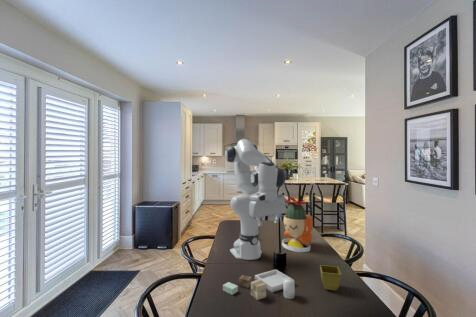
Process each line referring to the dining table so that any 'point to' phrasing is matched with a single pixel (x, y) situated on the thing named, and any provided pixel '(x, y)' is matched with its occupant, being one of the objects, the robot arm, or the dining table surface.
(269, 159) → the robot arm
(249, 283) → the walnut block
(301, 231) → the potted cactus
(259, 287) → the oak block
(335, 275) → the flower pot
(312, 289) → the dining table surface
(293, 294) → the white capsule shape
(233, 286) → the green box
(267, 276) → the tray
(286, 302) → the dining table surface
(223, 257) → the dining table surface
